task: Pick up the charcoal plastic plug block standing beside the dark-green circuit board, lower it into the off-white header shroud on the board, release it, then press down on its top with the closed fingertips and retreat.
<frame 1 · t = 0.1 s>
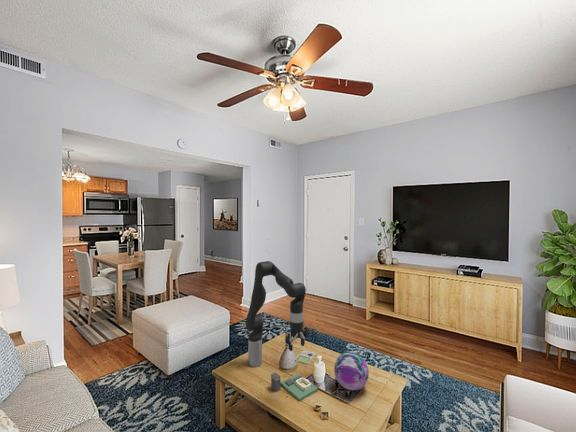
hand: (296, 348, 151), 29 cm above the table, fingers open, 8 cm apart
handheld gaming console: (305, 358, 195), on the table
decorative sphere: (351, 387, 162), on the table
plug: (275, 388, 162), on the table
header board: (298, 387, 162), on the table
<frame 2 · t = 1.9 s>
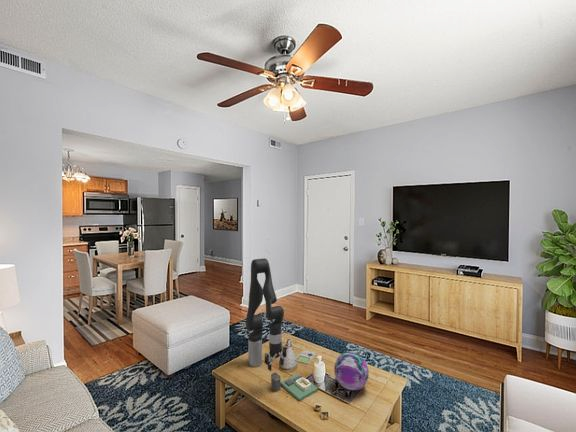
hand: (275, 367, 161), 13 cm above the table, fingers open, 8 cm apart
nothing on the table moved.
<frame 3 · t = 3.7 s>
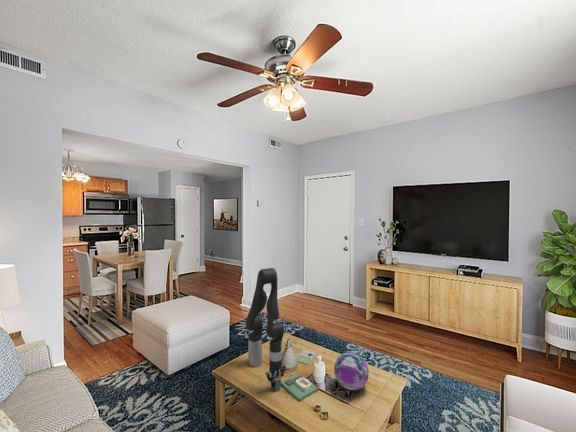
hand: (275, 385, 161), 2 cm above the table, fingers closed on plug, 3 cm apart
plug: (275, 388, 161), on the table, touching gripper
everything else where it was.
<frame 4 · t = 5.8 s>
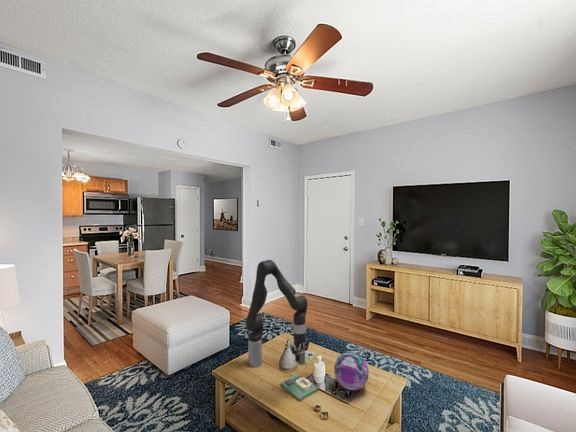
hand: (300, 359, 160), 18 cm above the table, fingers closed on plug, 3 cm apart
plug: (300, 362, 160), point 16 cm above the table, touching gripper
everything else where it was.
when the fingers open (4 cm above the table, at t = 8.1 s): plug stays where it is, resting on header board.
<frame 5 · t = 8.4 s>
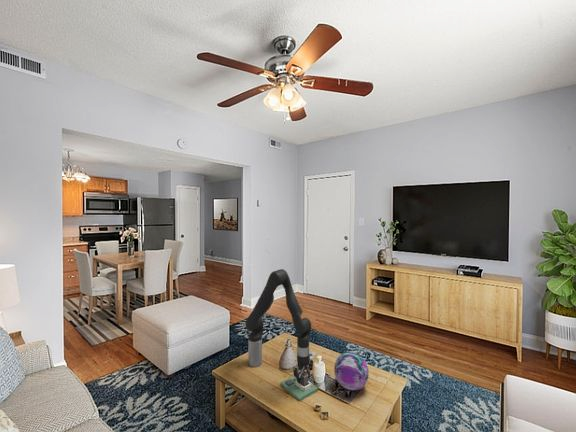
hand: (303, 380, 161), 5 cm above the table, fingers open, 6 cm apart
plug: (303, 385, 161), point 2 cm above the table, touching header board
everything else where it was.
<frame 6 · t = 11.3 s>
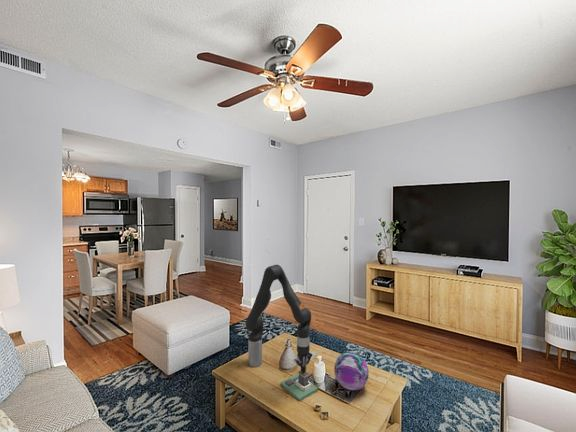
hand: (303, 371, 161), 10 cm above the table, fingers closed
nothing on the table moved.
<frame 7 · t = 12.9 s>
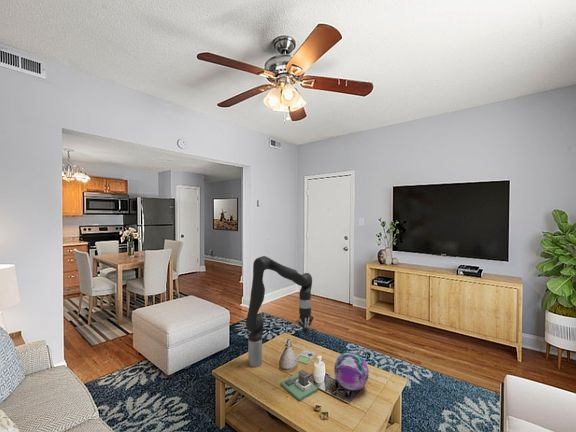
hand: (305, 333, 170), 29 cm above the table, fingers closed
nothing on the table moved.
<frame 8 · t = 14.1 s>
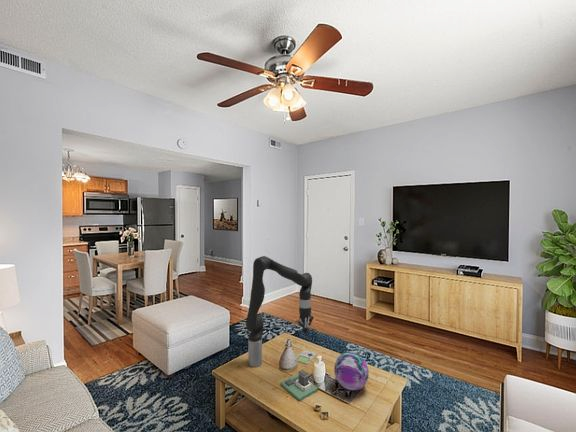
hand: (305, 333, 170), 29 cm above the table, fingers closed
nothing on the table moved.
at the end: plug 0.1 cm from the target spot on the header board, point 1.5 cm above the header board's base; plug tilted 0°; the gripper is holding nothing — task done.
